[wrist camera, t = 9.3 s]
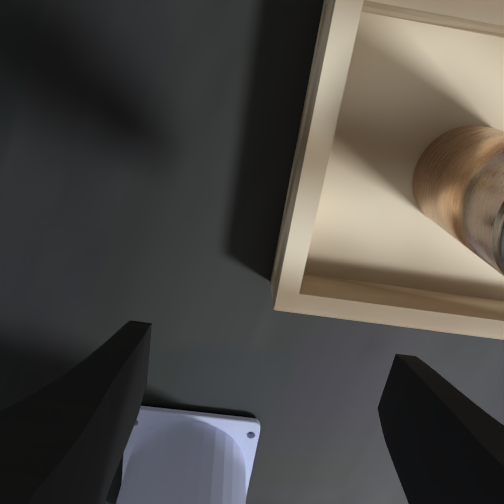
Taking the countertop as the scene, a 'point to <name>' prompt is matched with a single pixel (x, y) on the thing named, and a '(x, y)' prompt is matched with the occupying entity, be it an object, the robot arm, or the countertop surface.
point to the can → (465, 189)
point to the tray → (389, 166)
